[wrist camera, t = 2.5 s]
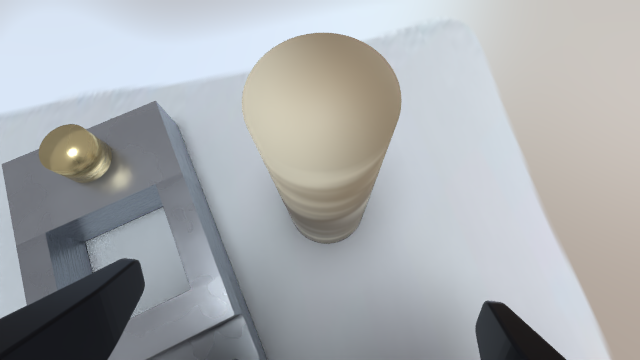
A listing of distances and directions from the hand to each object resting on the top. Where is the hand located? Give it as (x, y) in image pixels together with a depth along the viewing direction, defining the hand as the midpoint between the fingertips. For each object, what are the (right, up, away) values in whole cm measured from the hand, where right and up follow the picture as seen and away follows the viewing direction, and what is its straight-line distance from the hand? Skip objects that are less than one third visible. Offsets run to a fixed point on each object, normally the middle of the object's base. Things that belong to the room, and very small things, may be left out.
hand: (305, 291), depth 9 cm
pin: (+1, +1, +12) cm, 12 cm away
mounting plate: (-8, -5, +10) cm, 14 cm away
